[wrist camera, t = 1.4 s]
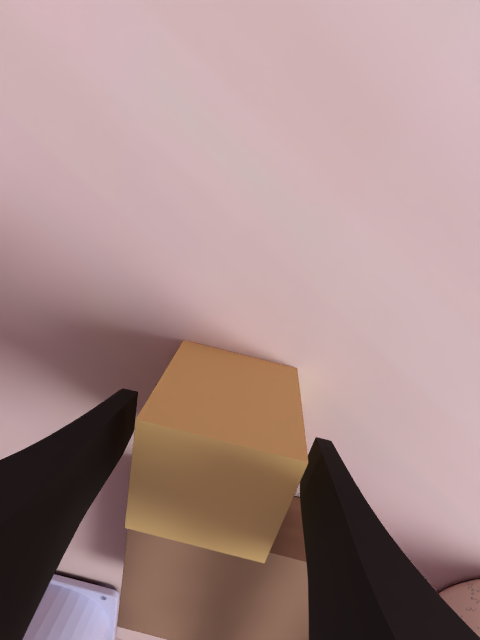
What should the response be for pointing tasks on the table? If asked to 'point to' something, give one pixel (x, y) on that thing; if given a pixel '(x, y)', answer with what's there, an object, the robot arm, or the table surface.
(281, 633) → the walnut base
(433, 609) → the robot arm
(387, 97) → the table surface
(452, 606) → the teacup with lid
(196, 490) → the ochre block
